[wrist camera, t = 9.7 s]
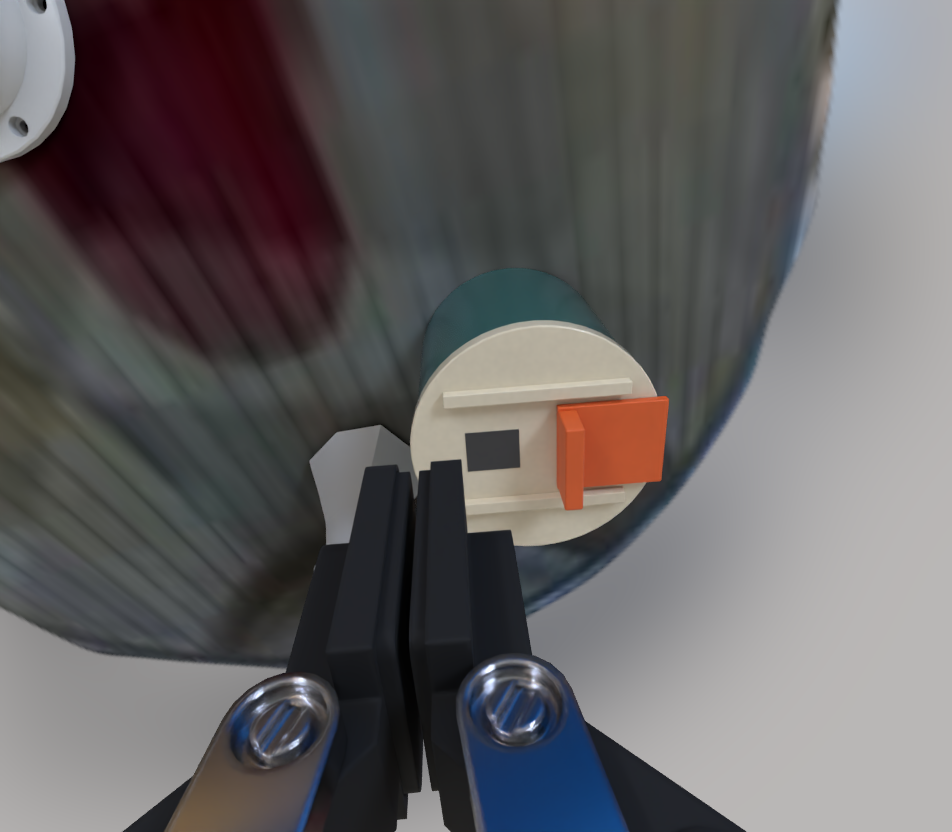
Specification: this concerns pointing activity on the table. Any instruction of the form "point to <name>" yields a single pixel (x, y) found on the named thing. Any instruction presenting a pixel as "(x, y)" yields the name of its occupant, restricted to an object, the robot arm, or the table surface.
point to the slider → (609, 444)
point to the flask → (353, 473)
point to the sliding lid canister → (518, 400)
